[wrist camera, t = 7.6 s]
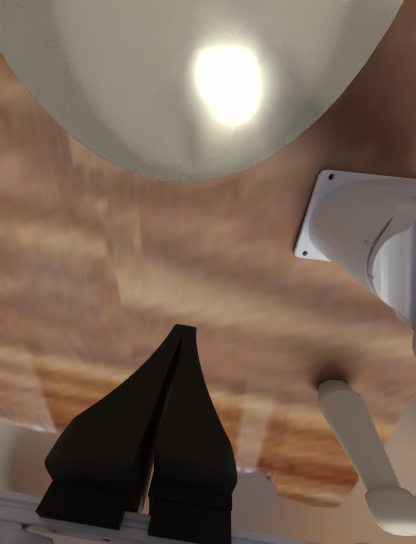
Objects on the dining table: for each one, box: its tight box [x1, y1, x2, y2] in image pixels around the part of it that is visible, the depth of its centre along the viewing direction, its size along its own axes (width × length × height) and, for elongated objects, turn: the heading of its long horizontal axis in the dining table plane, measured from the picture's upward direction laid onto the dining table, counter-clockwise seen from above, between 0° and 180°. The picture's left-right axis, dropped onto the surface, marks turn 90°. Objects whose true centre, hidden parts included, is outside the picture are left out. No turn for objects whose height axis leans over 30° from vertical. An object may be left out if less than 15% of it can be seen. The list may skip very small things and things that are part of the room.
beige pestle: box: [318, 379, 416, 536], centre depth 23 cm, size 6×6×13 cm
